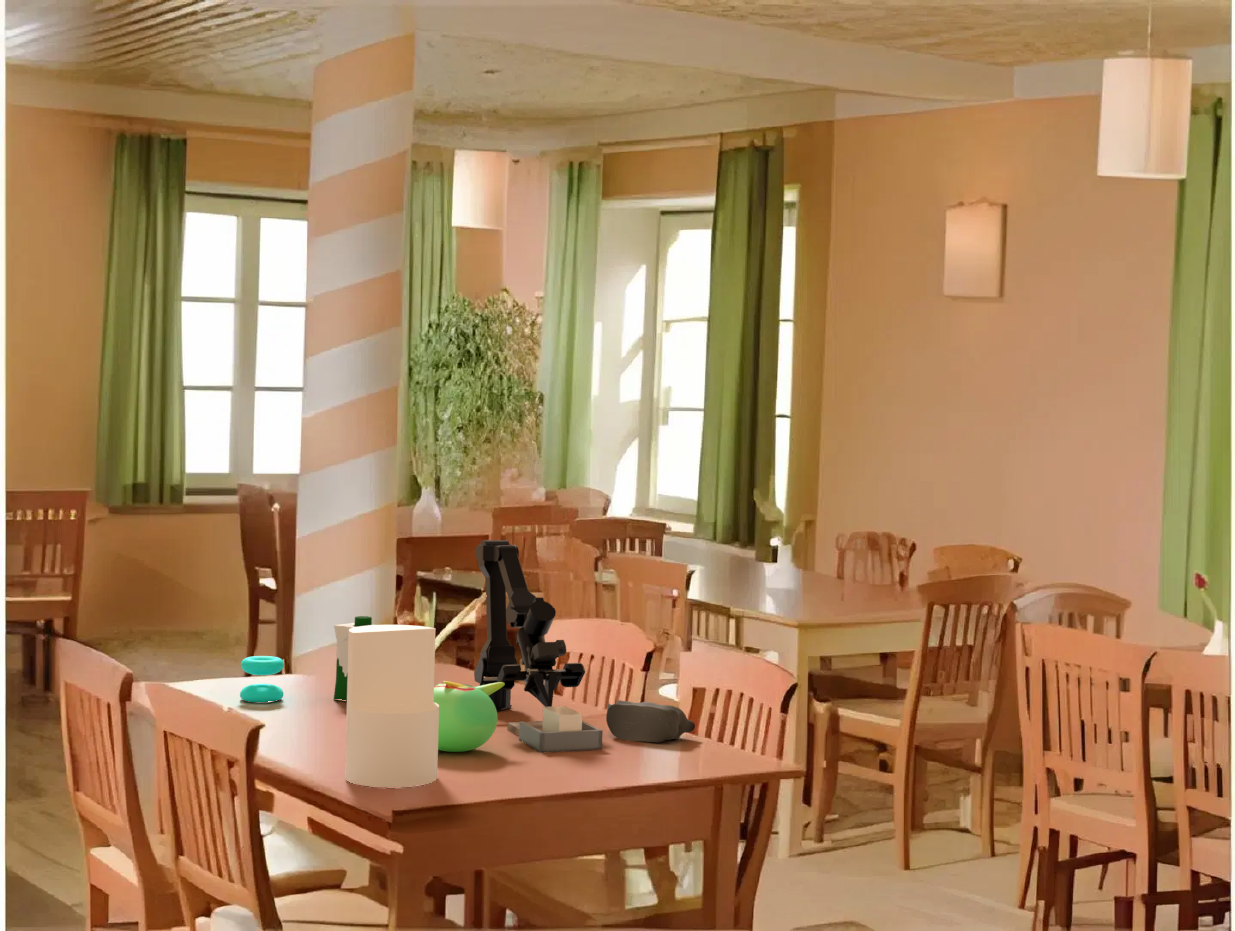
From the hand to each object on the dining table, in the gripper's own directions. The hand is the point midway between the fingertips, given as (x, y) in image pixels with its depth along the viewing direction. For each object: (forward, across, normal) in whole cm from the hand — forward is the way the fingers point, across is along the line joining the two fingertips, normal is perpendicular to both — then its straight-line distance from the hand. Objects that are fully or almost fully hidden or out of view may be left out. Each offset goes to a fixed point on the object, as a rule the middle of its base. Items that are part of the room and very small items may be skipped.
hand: (549, 708), depth 360 cm
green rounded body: (+10, -23, 0) cm, 25 cm away
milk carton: (-34, -29, +44) cm, 63 cm away
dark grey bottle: (+7, +21, +2) cm, 23 cm away
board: (+1, 0, +9) cm, 9 cm away
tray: (+10, 0, 0) cm, 10 cm away
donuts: (-37, -50, +47) cm, 78 cm away
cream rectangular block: (+4, 0, 0) cm, 4 cm away
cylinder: (+25, -42, -16) cm, 52 cm away
